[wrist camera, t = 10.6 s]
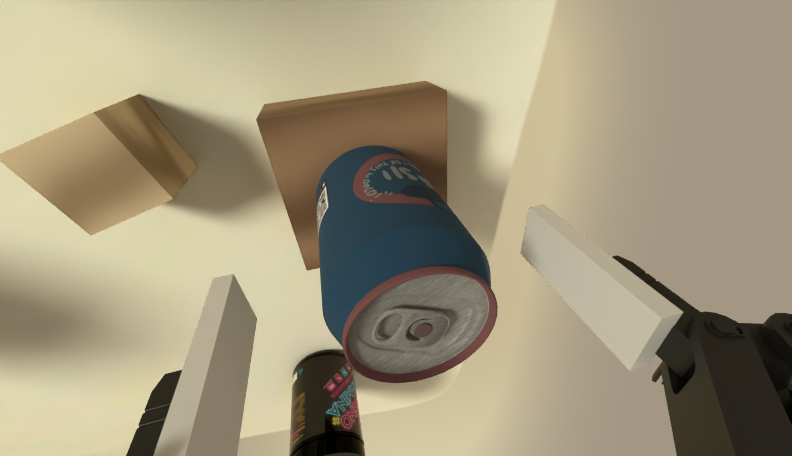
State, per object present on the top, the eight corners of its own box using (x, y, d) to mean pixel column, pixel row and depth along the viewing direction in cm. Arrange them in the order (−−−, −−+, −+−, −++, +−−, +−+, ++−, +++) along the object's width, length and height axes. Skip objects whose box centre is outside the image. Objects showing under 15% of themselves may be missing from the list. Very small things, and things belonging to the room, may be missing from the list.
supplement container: (348, 382, 39) (360, 483, 30) (290, 387, 37) (285, 497, 28) (356, 345, 35) (372, 447, 27) (293, 349, 33) (289, 460, 25)
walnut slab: (264, 104, 20) (256, 119, 17) (425, 81, 22) (446, 90, 19) (306, 240, 26) (306, 270, 23) (430, 214, 28) (446, 239, 25)
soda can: (434, 157, 21) (549, 273, 11) (396, 241, 24) (460, 392, 14) (332, 123, 18) (363, 237, 8) (303, 223, 21) (302, 394, 11)
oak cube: (63, 127, 19) (-6, 156, 15) (139, 93, 19) (93, 112, 15) (131, 195, 21) (90, 235, 17) (198, 166, 22) (173, 199, 17)
